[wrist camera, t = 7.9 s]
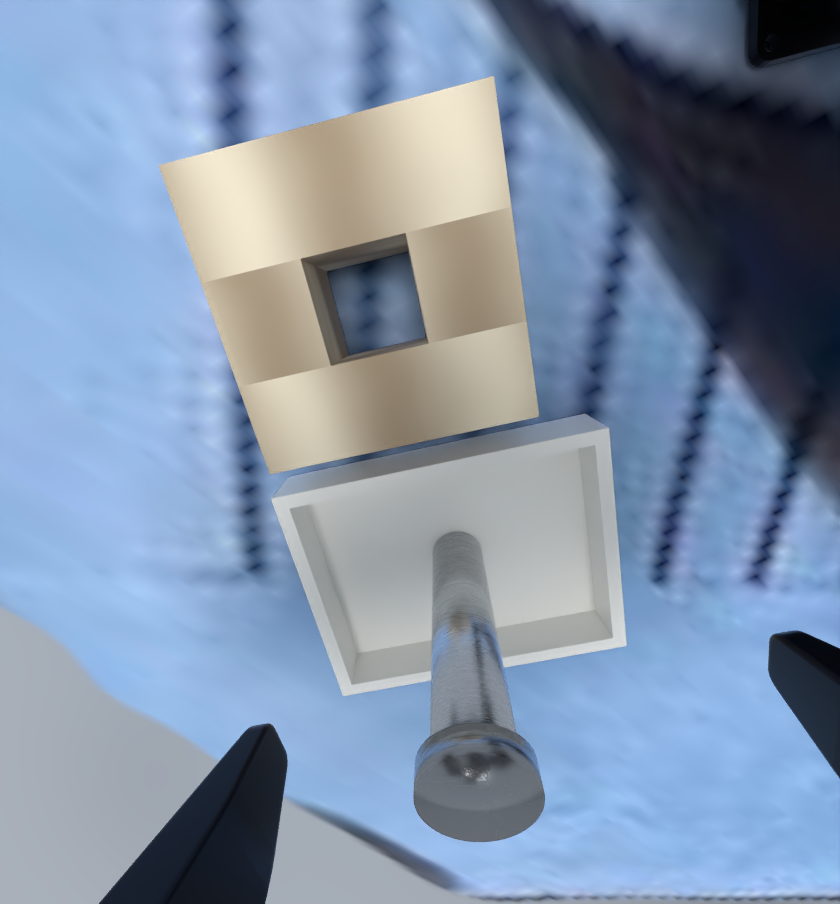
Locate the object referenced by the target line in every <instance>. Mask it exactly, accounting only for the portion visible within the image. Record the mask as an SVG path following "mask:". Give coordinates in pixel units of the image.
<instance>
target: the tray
mask: <svg viewBox="0 0 840 904" xmlns="http://www.w3.org/2000/svg"><path fill="white" fill-rule="evenodd" d="M271 500H272V503H273V506H274V509H275V511H276V514H277V517H278V520H279V522H280V525H281V528H282V530H283V533H284V536H285V539H286V541H287V544H288V547H289V550H290V552H291V555H292V558H293V560H294V563H295V566H296V569H297V571H298V574H299V577H300V580H301V582H302V585H303V588H304V590H305V593H306V596H307V599H308V601H309V604H310V607H311V610H312V612H313V615H314V618H315V620H316V623H317V626H318V629H319V631H320V634H321V637H322V640H323V642H324V645H325V648H326V651H327V653H328V656H329V659H330V661H331V664H332V667H333V670H334V672H335V675H336V678H337V681H338V683H339V686H340V689H341V691H342V694H343V696H347V695H352V694H358V693H364V692H369V691H375V690H381V689H386V688H392V687H398V686H403V685H409V684H414V683H420V682H426V681H431V654H432V571H433V547H434V545H435V543H436V541H437V540H438V539H439V538H440V537H441V536H443V535H445V534H447V533H450V532H465V533H468V534H470V535H472V536H473V537H474V538H476V539H477V541H478V542H479V544H480V546H481V549H482V555H483V560H484V565H485V571H486V576H487V581H488V587H489V592H490V597H491V602H492V608H493V613H494V618H495V624H496V629H497V634H498V640H499V645H500V650H501V656H502V661H503V666H504V668H505V667H510V666H516V665H522V664H527V663H533V662H539V661H544V660H550V659H555V658H561V657H567V656H572V655H578V654H584V653H589V652H595V651H601V650H606V649H612V648H617V647H623V646H627V644H626V631H625V619H624V606H623V594H622V581H621V569H620V557H619V544H618V532H617V519H616V507H615V494H614V482H613V469H612V457H611V445H610V432H609V427H607V426H605V425H603V424H602V423H600V422H598V421H597V420H595V419H593V418H592V417H590V416H588V415H586V414H580V415H576V416H571V417H566V418H562V419H557V420H552V421H548V422H543V423H538V424H534V425H529V426H524V427H519V428H515V429H510V430H505V431H501V432H496V433H491V434H487V435H482V436H477V437H472V438H468V439H463V440H458V441H454V442H449V443H444V444H440V445H435V446H430V447H425V448H421V449H416V450H411V451H407V452H402V453H397V454H393V455H388V456H383V457H379V458H374V459H369V460H364V461H360V462H355V463H350V464H346V465H341V466H336V467H332V468H327V469H322V470H317V471H313V472H308V473H303V474H299V475H294V476H289V477H288V478H287V479H286V481H285V482H284V483H283V484H282V486H281V487H280V488H279V489H278V491H277V492H276V493H275V494H274V496H273V497H272V498H271Z"/></svg>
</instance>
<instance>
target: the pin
mask: <svg viewBox="0 0 840 904" xmlns="http://www.w3.org/2000/svg"><path fill="white" fill-rule="evenodd" d="M544 804H545V794H544V789H543V785H542V781H541V776H540V772H539V767H538V763H537V758H536V755H535V753H534V750H533V749H532V747H531V746H530V744H529V743H528V742H527V741H526V740H525V739H524V738H523V737H521V736H520V735H519V734H517V733H516V730H515V725H514V719H513V714H512V709H511V703H510V698H509V693H508V688H507V682H506V677H505V672H504V666H503V661H502V656H501V650H500V645H499V640H498V634H497V629H496V624H495V618H494V613H493V608H492V602H491V597H490V592H489V587H488V581H487V576H486V571H485V565H484V560H483V555H482V549H481V546H480V544H479V542H478V541H477V539H476V538H474V537H473V536H472V535H470V534H468V533H465V532H450V533H447V534H445V535H443V536H441V537H440V538H439V539H438V540H437V541H436V543H435V545H434V547H433V571H432V654H431V736H430V737H429V738H428V739H427V740H426V741H425V742H424V743H423V744H422V745H421V747H420V749H419V750H418V752H417V755H416V759H415V774H414V805H415V809H416V811H417V813H418V815H419V816H420V818H421V819H422V820H423V821H424V822H425V823H426V824H427V825H428V826H429V827H431V828H432V829H434V830H435V831H437V832H439V833H441V834H443V835H445V836H448V837H451V838H454V839H458V840H463V841H470V842H490V841H497V840H502V839H506V838H509V837H512V836H514V835H517V834H519V833H521V832H523V831H524V830H526V829H527V828H529V827H530V826H531V825H532V824H533V823H534V822H536V820H537V819H538V818H539V816H540V815H541V813H542V811H543V808H544Z"/></svg>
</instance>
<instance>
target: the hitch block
mask: <svg viewBox="0 0 840 904" xmlns="http://www.w3.org/2000/svg"><path fill="white" fill-rule="evenodd" d="M159 168H160V170H161V173H162V176H163V179H164V182H165V184H166V187H167V190H168V193H169V195H170V198H171V201H172V204H173V207H174V209H175V212H176V215H177V218H178V220H179V223H180V226H181V229H182V232H183V234H184V237H185V240H186V243H187V245H188V248H189V251H190V254H191V257H192V259H193V262H194V265H195V268H196V270H197V273H198V276H199V279H200V282H201V284H202V287H203V290H204V293H205V295H206V298H207V301H208V304H209V307H210V309H211V312H212V315H213V318H214V320H215V323H216V326H217V329H218V332H219V334H220V337H221V340H222V343H223V345H224V348H225V351H226V354H227V357H228V359H229V362H230V365H231V368H232V370H233V373H234V376H235V379H236V382H237V384H238V387H239V390H240V393H241V395H242V398H243V401H244V404H245V407H246V409H247V412H248V415H249V418H250V420H251V423H252V426H253V429H254V432H255V434H256V437H257V440H258V443H259V445H260V448H261V451H262V454H263V457H264V459H265V462H266V465H267V468H268V470H269V473H270V474H274V473H278V472H283V471H288V470H292V469H297V468H302V467H306V466H311V465H316V464H320V463H325V462H330V461H334V460H339V459H344V458H348V457H353V456H358V455H363V454H367V453H372V452H377V451H381V450H386V449H391V448H395V447H400V446H405V445H409V444H414V443H419V442H423V441H428V440H433V439H437V438H442V437H447V436H451V435H456V434H461V433H465V432H470V431H475V430H479V429H484V428H489V427H493V426H498V425H503V424H507V423H512V422H517V421H521V420H526V419H531V418H535V417H539V410H538V402H537V395H536V387H535V380H534V372H533V365H532V357H531V350H530V342H529V335H528V327H527V320H526V313H525V305H524V298H523V290H522V283H521V275H520V268H519V260H518V253H517V245H516V238H515V230H514V223H513V215H512V208H511V201H510V193H509V186H508V178H507V171H506V163H505V156H504V148H503V141H502V133H501V126H500V118H499V111H498V103H497V96H496V89H495V81H494V76H492V77H488V78H484V79H481V80H477V81H473V82H469V83H466V84H462V85H458V86H454V87H451V88H447V89H443V90H439V91H436V92H432V93H428V94H424V95H421V96H417V97H413V98H409V99H406V100H402V101H398V102H394V103H391V104H387V105H383V106H379V107H376V108H372V109H368V110H364V111H361V112H357V113H353V114H349V115H346V116H342V117H338V118H334V119H331V120H327V121H323V122H319V123H316V124H312V125H308V126H304V127H301V128H297V129H293V130H289V131H286V132H282V133H278V134H274V135H271V136H267V137H263V138H259V139H256V140H252V141H248V142H244V143H241V144H237V145H233V146H229V147H226V148H222V149H218V150H214V151H211V152H207V153H203V154H199V155H196V156H192V157H188V158H184V159H181V160H177V161H173V162H169V163H166V164H162V165H159ZM405 252H408V253H409V257H410V262H411V267H412V272H413V277H414V281H415V286H416V291H417V296H418V301H419V305H420V310H421V315H422V320H423V324H424V329H425V334H426V338H422V339H417V340H413V341H409V342H404V343H400V344H396V345H391V346H387V347H383V348H378V349H374V350H369V351H365V352H361V353H356V354H352V355H349V353H348V349H347V345H346V342H345V338H344V334H343V330H342V327H341V323H340V319H339V316H338V312H337V308H336V304H335V301H334V297H333V293H332V290H331V286H330V282H329V278H328V275H327V271H331V270H335V269H339V268H343V267H347V266H351V265H355V264H360V263H364V262H368V261H372V260H376V259H380V258H384V257H388V256H392V255H396V254H401V253H405Z"/></svg>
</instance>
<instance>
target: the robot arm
mask: <svg viewBox="0 0 840 904" xmlns="http://www.w3.org/2000/svg"><path fill="white" fill-rule="evenodd" d="M765 41H768V42H769V43H770V47H771V48H770V52H768V51H767V50H766V49H765V45H764V44H765ZM838 47H840V0H749V45H748V55H749V60H750V62H751V63H752V65H754V66H756V67H765V66H768V65H772V64H776V63H780V62H784V61H788V60H792V59H796V58H800V57H803V56H807V55H811V54H815V53H819V52H823V51H827V50H831V49H834V48H838ZM768 671H769V675H770V678H771V680H772V682H773V684H774V686H775V687H776V689H777V690H778V691H779V693H780V694H781V696H782V697H783V699H784V700H785V701H786V703H787V704H788V706H789V707H790V709H791V710H792V711H793V713H794V714H795V716H796V717H797V719H798V720H799V721H800V723H801V724H802V726H803V727H804V729H805V730H806V731H807V733H808V734H809V736H810V737H811V739H812V740H813V741H814V743H815V744H816V746H817V747H818V749H819V750H820V751H821V753H822V754H823V756H824V757H825V759H826V760H827V761H828V763H829V764H830V766H831V767H832V769H833V770H834V771H835V773H836V774H837V775H838V777H839V778H840V648H837V647H835V646H833V645H831V644H828V643H826V642H824V641H822V640H820V639H817V638H815V637H813V636H811V635H809V634H806V633H804V632H801V631H788V632H782V633H777V634H773V635H772V636H771V638H770V641H769V661H768ZM287 762H288V761H287V754H286V751H285V748H284V746H283V744H282V742H281V740H280V738H279V736H278V734H277V732H276V730H275V728H274V726H273V725H271V724H268V723H267V724H261V725H256V726H252V727H250V728H248V729H247V730H246V731H245V732H244V733H243V734H242V735H241V737H240V738H239V739H238V740H237V741H236V743H235V744H234V745H233V746H232V747H231V748H230V750H229V751H228V752H227V753H226V754H225V755H224V757H223V758H222V759H221V760H220V761H219V763H218V764H217V765H216V766H215V767H214V769H213V770H212V771H211V772H210V773H209V774H208V776H207V777H206V778H205V779H204V780H203V781H202V783H201V784H200V785H199V786H198V787H197V789H196V790H195V791H194V792H193V793H192V794H191V796H190V797H189V798H188V799H187V800H186V802H185V803H184V804H183V805H182V806H181V808H180V809H179V810H178V811H177V812H176V813H175V815H174V816H173V817H172V818H171V819H170V820H169V822H168V823H167V824H166V825H165V826H164V827H163V829H162V830H161V831H160V832H159V833H158V834H157V836H156V837H155V838H154V839H153V840H152V842H151V843H150V844H149V845H148V846H147V848H146V849H145V850H144V851H143V852H142V853H141V855H140V856H139V857H138V858H137V859H136V860H135V862H134V863H133V864H132V865H131V866H130V867H129V869H128V870H127V871H126V872H125V873H124V875H123V876H122V877H121V878H120V879H119V881H118V882H117V883H116V884H115V885H114V886H113V888H112V889H111V890H110V891H109V892H108V893H107V895H106V896H105V897H104V898H103V900H101V902H100V903H99V904H265V901H266V897H267V893H268V888H269V883H270V878H271V874H272V868H273V862H274V856H275V850H276V842H277V836H278V829H279V822H280V814H281V808H282V801H283V794H284V787H285V780H286V773H287Z"/></svg>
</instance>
